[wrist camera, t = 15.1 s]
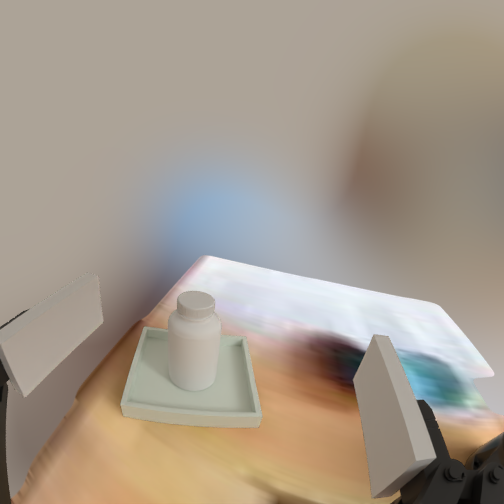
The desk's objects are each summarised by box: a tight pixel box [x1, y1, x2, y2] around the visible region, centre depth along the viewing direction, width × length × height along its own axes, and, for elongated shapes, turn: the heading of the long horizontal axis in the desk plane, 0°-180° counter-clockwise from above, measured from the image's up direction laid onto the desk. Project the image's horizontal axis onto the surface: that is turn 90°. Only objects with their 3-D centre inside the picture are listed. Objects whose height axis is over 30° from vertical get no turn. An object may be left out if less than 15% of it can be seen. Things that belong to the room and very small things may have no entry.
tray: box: [120, 326, 263, 428], centre depth 42 cm, size 20×20×3 cm
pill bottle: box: [168, 291, 222, 391], centre depth 40 cm, size 8×8×15 cm
